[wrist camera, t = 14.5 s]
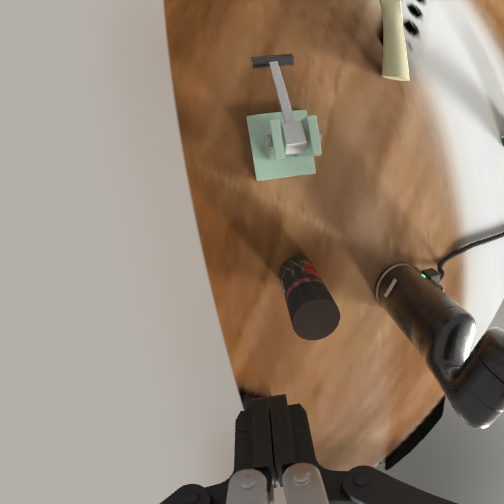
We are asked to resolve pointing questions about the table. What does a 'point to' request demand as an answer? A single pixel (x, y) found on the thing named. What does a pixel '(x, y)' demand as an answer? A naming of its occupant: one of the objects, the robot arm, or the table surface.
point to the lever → (284, 102)
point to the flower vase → (393, 42)
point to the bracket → (281, 146)
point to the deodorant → (308, 300)
